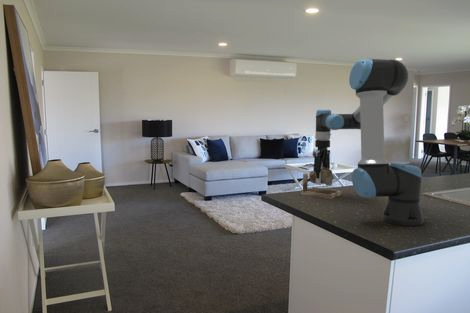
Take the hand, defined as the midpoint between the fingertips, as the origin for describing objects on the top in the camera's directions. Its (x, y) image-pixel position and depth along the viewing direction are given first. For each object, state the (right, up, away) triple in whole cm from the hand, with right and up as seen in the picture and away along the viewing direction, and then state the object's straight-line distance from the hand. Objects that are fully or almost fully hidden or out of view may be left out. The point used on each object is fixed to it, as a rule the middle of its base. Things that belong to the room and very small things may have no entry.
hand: (321, 183), depth 198 cm
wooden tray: (0, -6, +1) cm, 6 cm away
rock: (0, 0, 0) cm, 1 cm away
